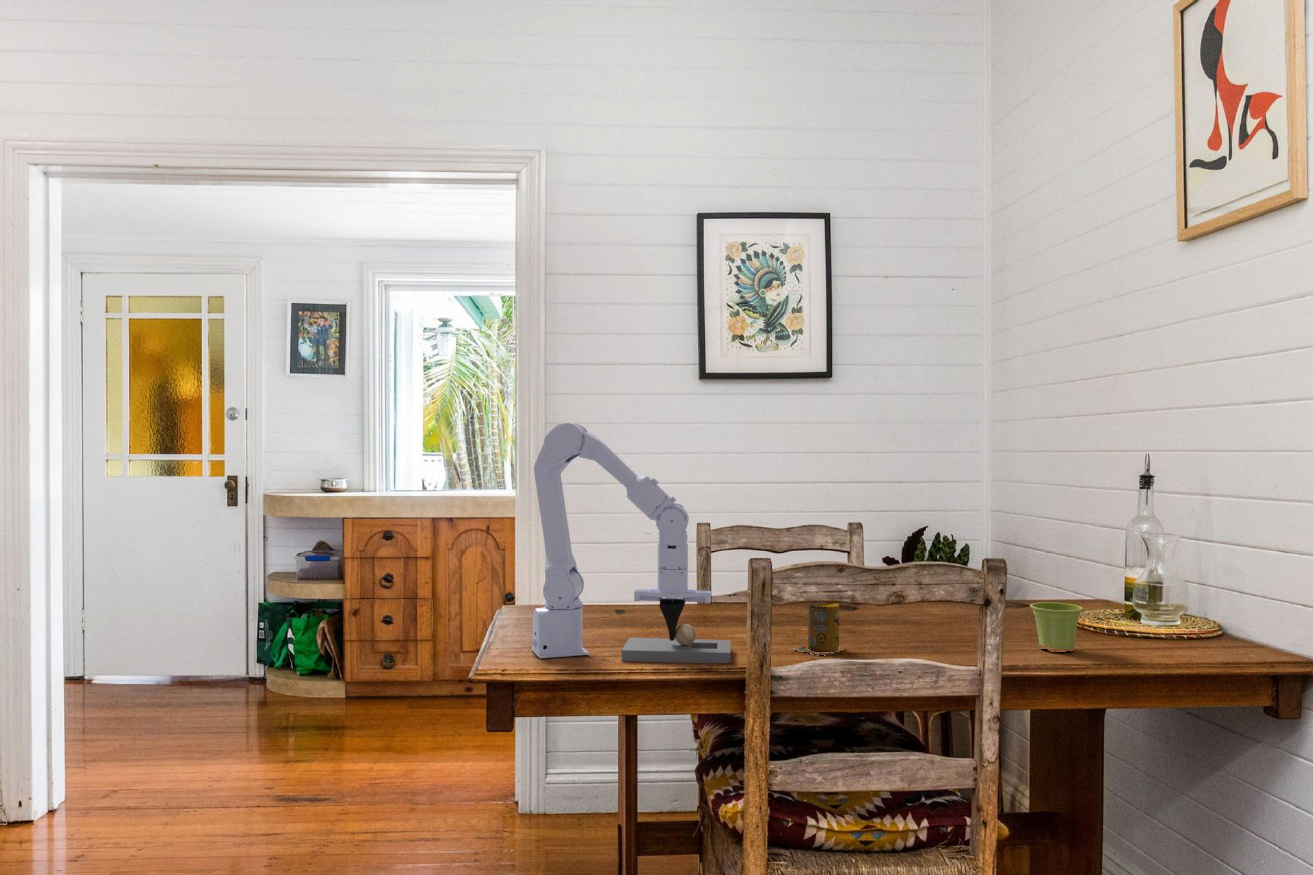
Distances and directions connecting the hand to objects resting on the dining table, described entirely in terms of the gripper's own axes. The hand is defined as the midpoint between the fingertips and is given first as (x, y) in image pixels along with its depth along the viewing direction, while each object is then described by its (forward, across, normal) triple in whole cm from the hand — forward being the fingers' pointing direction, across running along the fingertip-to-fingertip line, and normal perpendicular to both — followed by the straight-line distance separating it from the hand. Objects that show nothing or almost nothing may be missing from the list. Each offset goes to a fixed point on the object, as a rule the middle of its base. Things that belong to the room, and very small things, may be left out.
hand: (672, 639), depth 171 cm
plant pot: (+3, +75, +13) cm, 76 cm away
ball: (-1, +2, 0) cm, 3 cm away
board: (+3, +1, 0) cm, 3 cm away
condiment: (+3, +28, +8) cm, 30 cm away
